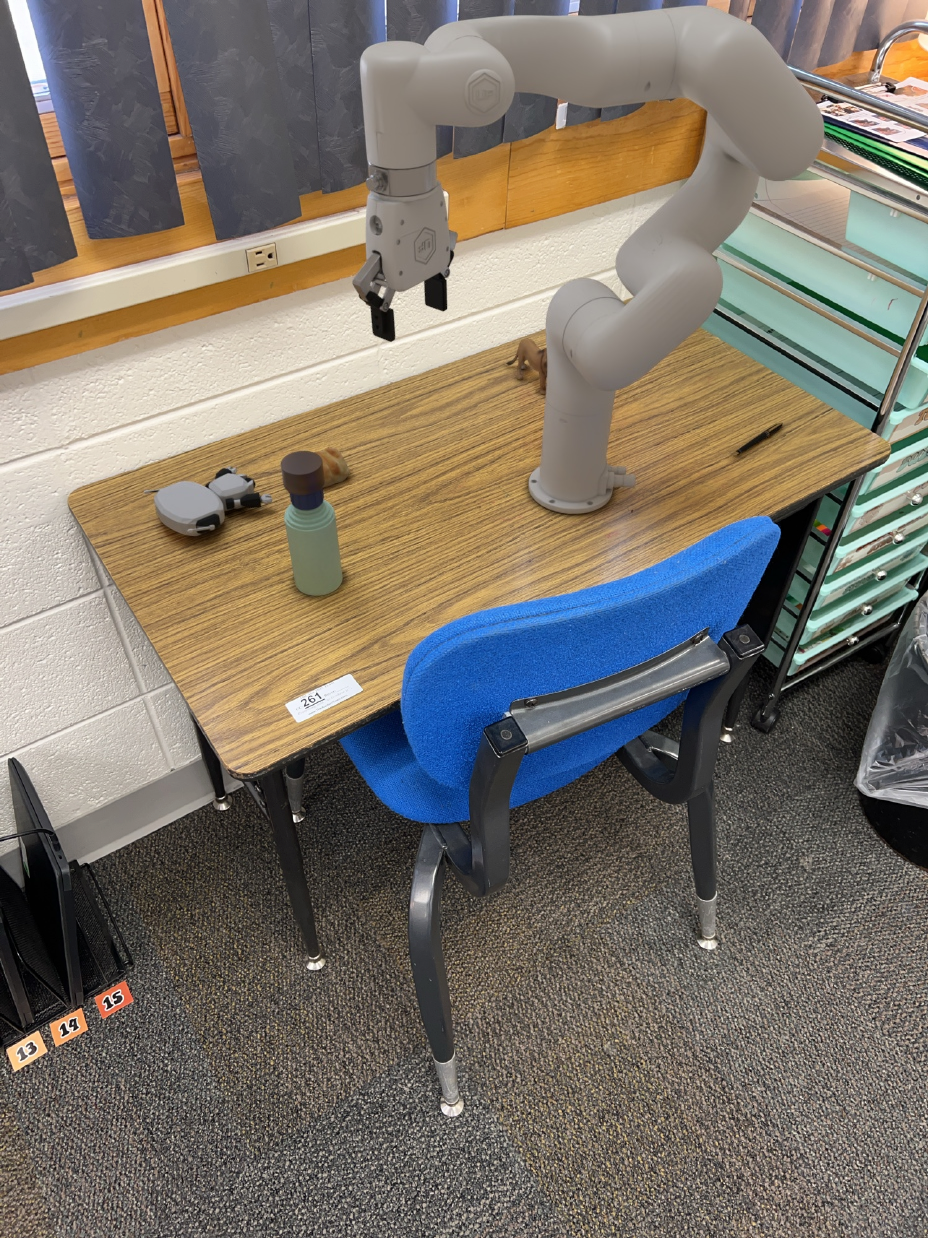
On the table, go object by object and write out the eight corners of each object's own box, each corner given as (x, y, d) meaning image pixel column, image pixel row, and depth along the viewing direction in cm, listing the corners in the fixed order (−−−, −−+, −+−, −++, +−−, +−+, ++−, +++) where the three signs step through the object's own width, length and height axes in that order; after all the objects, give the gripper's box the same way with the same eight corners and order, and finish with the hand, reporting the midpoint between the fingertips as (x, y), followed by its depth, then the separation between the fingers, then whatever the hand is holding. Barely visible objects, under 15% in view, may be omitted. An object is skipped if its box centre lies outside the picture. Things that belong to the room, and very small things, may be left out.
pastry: (301, 501, 136) (297, 479, 133) (277, 480, 139) (274, 459, 137) (353, 477, 140) (351, 456, 137) (329, 458, 144) (327, 437, 141)
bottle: (346, 565, 125) (335, 471, 114) (338, 597, 121) (326, 502, 110) (300, 563, 126) (285, 469, 115) (290, 594, 121) (274, 500, 110)
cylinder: (328, 471, 114) (325, 451, 112) (320, 495, 110) (318, 475, 108) (288, 469, 114) (285, 449, 112) (279, 494, 110) (276, 473, 108)
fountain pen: (733, 461, 143) (735, 453, 142) (727, 458, 144) (729, 450, 143) (785, 427, 150) (787, 419, 149) (778, 424, 151) (781, 417, 150)
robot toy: (233, 480, 141) (144, 514, 133) (230, 454, 138) (138, 488, 130) (279, 516, 134) (188, 555, 126) (277, 490, 131) (183, 528, 123)
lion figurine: (578, 392, 158) (583, 343, 152) (557, 403, 155) (561, 354, 149) (515, 361, 165) (518, 314, 159) (495, 371, 163) (496, 324, 157)
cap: (326, 491, 115) (324, 473, 113) (320, 511, 112) (318, 493, 110) (294, 490, 115) (292, 472, 114) (288, 509, 113) (285, 491, 111)
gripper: (374, 207, 94) (386, 360, 106) (478, 160, 103) (478, 305, 115) (322, 191, 97) (339, 340, 109) (427, 147, 107) (432, 289, 119)
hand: (410, 322), depth 112 cm, fingers open, 9 cm apart
